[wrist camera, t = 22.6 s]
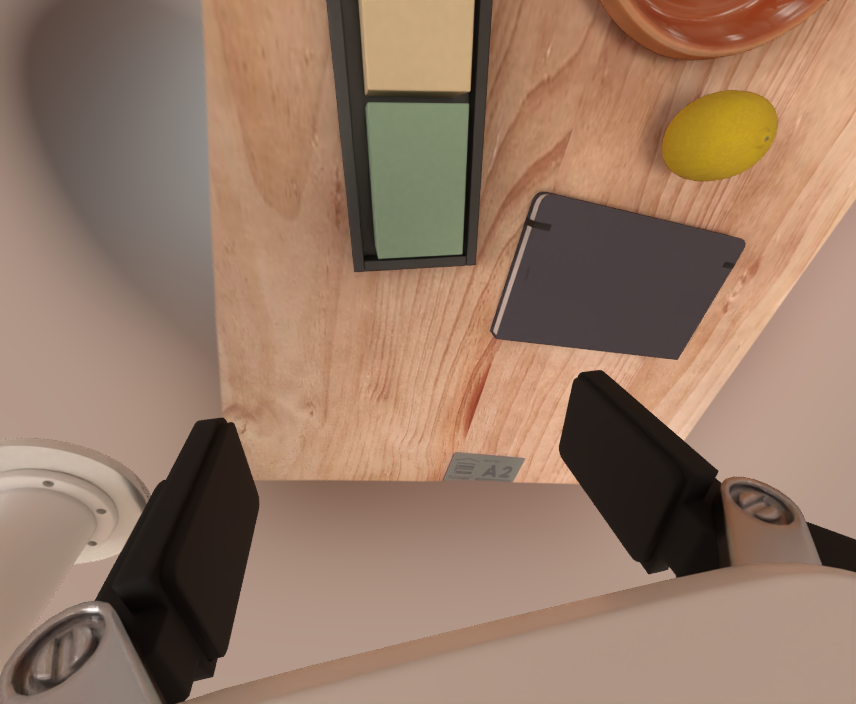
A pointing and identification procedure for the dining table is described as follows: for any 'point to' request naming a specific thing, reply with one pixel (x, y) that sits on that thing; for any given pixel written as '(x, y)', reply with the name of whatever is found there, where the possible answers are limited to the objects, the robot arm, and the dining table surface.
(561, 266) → the notebook
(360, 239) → the tray
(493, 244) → the dining table surface
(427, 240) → the pad
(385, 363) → the dining table surface
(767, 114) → the lemon
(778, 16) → the saucer
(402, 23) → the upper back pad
